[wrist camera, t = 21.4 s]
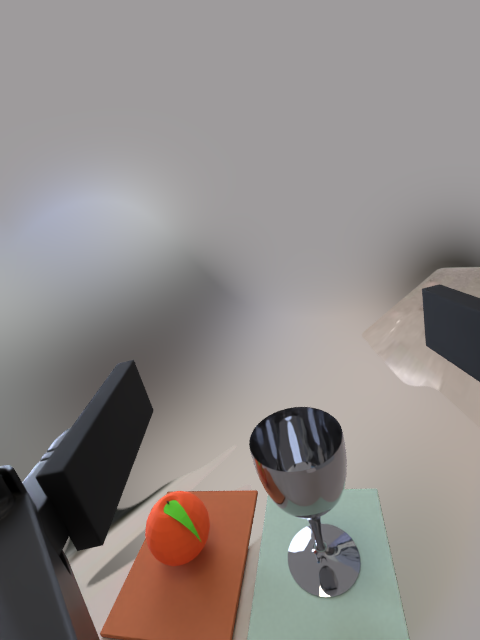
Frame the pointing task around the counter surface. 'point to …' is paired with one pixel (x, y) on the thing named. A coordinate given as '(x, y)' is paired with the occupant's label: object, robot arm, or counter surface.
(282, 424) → the wine glass
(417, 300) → the counter surface
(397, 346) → the counter surface
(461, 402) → the counter surface
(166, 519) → the clementine
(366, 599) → the glass mat
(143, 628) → the fruit mat
